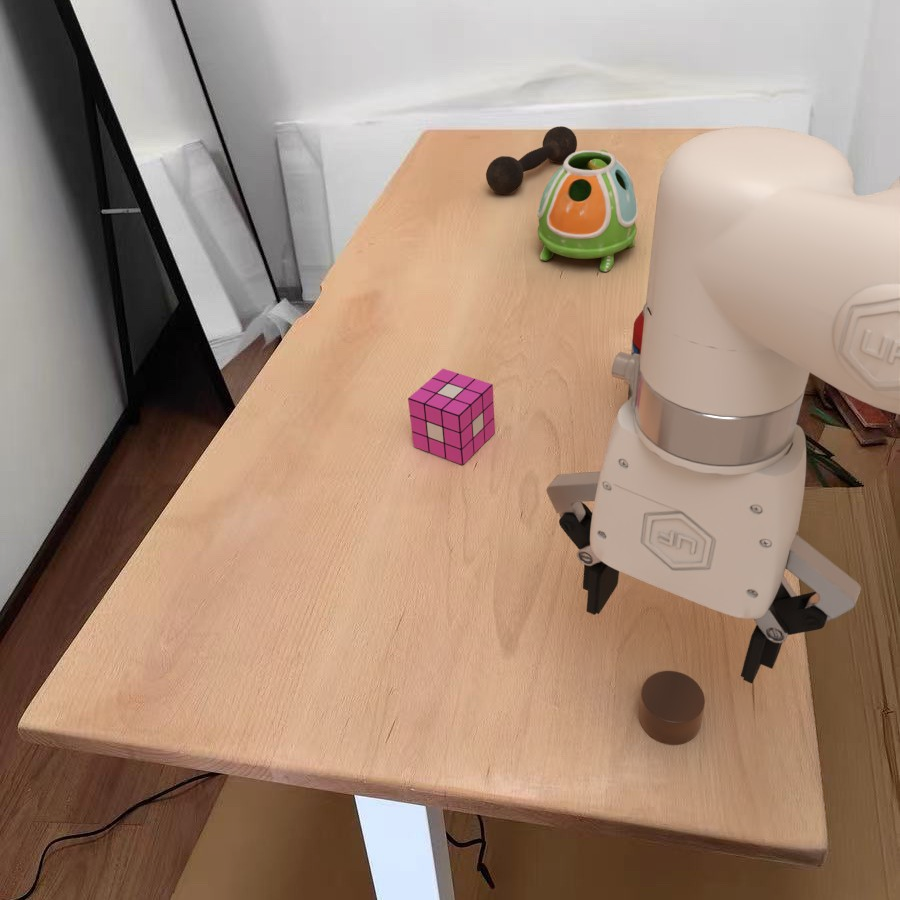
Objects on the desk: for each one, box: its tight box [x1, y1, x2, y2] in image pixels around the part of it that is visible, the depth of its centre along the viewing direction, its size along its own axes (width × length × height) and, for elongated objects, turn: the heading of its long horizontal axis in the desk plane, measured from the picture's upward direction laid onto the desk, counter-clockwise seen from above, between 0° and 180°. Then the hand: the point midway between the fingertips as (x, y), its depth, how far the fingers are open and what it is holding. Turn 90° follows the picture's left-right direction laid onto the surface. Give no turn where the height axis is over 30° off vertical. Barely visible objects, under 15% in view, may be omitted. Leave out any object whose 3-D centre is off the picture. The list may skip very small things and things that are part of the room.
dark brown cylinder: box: [638, 670, 706, 746], centre depth 57 cm, size 4×4×2 cm
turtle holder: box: [536, 149, 639, 273], centre depth 110 cm, size 12×18×12 cm
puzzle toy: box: [407, 368, 496, 466], centre depth 81 cm, size 6×6×6 cm
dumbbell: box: [485, 125, 578, 195], centre depth 131 cm, size 20×5×5 cm, turn 141°
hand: (675, 630), depth 52 cm, fingers open, 9 cm apart
